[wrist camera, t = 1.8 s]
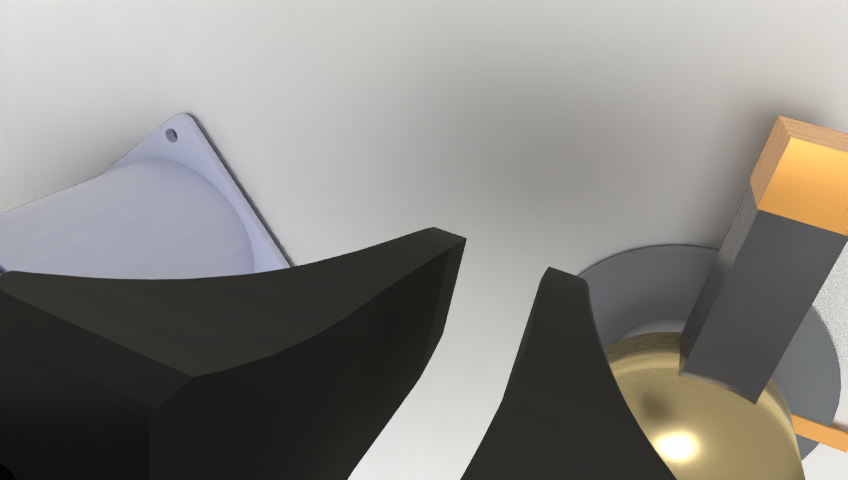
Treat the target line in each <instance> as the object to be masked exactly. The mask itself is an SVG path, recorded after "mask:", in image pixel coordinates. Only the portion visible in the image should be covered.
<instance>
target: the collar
mask: <svg viewBox="0 0 848 480" xmlns="http://www.w3.org/2000/svg"><path fill="white" fill-rule="evenodd" d="M847 241H848V134H847V133H843V132H840V131H836V130H832V129H828V128H825V127H821V126H817V125H813V124H809V123H806V122H802V121H798V120H794V119H791V118H787V117H783V116H778V118H777V120H776V123H775V125H774V127H773V129H772V131H771V134H770V136H769V138H768V140H767V142H766V144H765V147H764V149H763V151H762V153H761V155H760V157H759V160H758V162H757V164H756V166H755V168H754V170H753V173H752V175H751V177H750V185H749V188H748V190H747V192H746V194H745V196H744V198H743V201H742V203H741V205H740V207H739V209H738V211H737V214H736V216H735V218H734V220H733V222H732V224H731V227H730V229H729V231H728V233H727V235H726V237H725V240H724V242H723V244H722V246H721V248H720V250H719V253H718V255H717V257H716V259H715V261H714V263H713V266H712V268H711V270H710V272H709V274H708V276H707V279H706V281H705V283H704V285H703V287H702V289H701V292H700V294H699V296H698V298H697V300H696V302H695V305H694V307H693V309H692V311H691V313H690V315H689V318H688V320H687V322H686V324H685V326H684V328H683V331H682V332H652V333H645V334H639V335H635V336H632V337H628V338H625V339H623V340H620V341H618V342H615V343H613V344H612V345H610V346H608V347H606V348H604V352H605V355H606V357H607V360H608V363H609V365H610V368H611V370H612V372H613V375H614V377H615V379H616V382H617V384H618V386H619V388H620V391H621V393H622V395H623V397H624V399H625V401H626V403H627V405H628V407H629V409H630V410H631V412H632V414H633V415H634V417H635V419H636V421H637V422H638V424H639V426H640V428H641V429H642V431H643V432H644V434H645V435H646V437H647V438H648V440H649V441H650V443H651V444H652V446H653V447H654V449H655V450H656V451H657V453H658V454H659V455H660V457H661V458H662V460H663V461H664V462H665V464H666V465H667V466H668V468H669V469H670V471H671V472H672V473H673V475H674V476H675V477H676V479H677V480H805V476H804V472H803V467H802V463H801V458H800V453H799V449H798V444H797V440H796V435H795V431H794V426H793V421H792V417H791V413H790V409H789V406H788V403H787V401H786V399H785V396H784V394H783V392H782V391H781V389H780V388H779V386H778V385H777V383H776V382H775V381H774V379H773V378H772V377H771V376H772V374H773V372H774V370H775V369H776V367H777V365H778V363H779V362H780V360H781V358H782V356H783V354H784V353H785V351H786V349H787V347H788V346H789V344H790V342H791V340H792V339H793V337H794V335H795V333H796V331H797V330H798V328H799V326H800V324H801V323H802V321H803V319H804V317H805V315H806V314H807V312H808V310H809V308H810V307H811V305H812V303H813V301H814V299H815V298H816V296H817V294H818V292H819V291H820V289H821V287H822V285H823V283H824V282H825V280H826V278H827V276H828V275H829V273H830V271H831V269H832V267H833V266H834V264H835V262H836V260H837V259H838V257H839V255H840V253H841V252H842V250H843V248H844V246H845V244H846V243H847Z"/></svg>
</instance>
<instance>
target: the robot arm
mask: <svg viewBox="0 0 848 480" xmlns="http://www.w3.org/2000/svg"><path fill="white" fill-rule="evenodd" d="M173 130H174V131H175V132H176V134H177V138H176V137H175V136H174V134H173ZM466 239H467V238H464V237H461V236H458V235H456V234H453V233H450V232H447V231H444V230H441V229H438V228H435V227H432V228H427V229H424V230H420V231H417V232H414V233H411V234H408V235H405V236H402V237H399V238H396V239H393V240H390V241H387V242H384V243H381V244H378V245H375V246H372V247H368V248H365V249H362V250H359V251H356V252H352V253H348V254H344V255H340V256H337V257H333V258H329V259H325V260H322V261H318V262H314V263H310V264H305V265H301V266H295V267H290V266H289V264H288V263H287V261H286V260H285V258H284V257H283V255H282V253H281V252H280V250H279V249H278V247H277V246H276V244H275V243H274V241H273V240H272V238H271V237H270V235H269V234H268V232H267V231H266V229H265V228H264V226H263V225H262V223H261V222H260V220H259V219H258V217H257V216H256V214H255V212H254V211H253V209H252V208H251V206H250V205H249V203H248V202H247V200H246V199H245V197H244V196H243V194H242V193H241V191H240V190H239V188H238V187H237V185H236V184H235V182H234V181H233V179H232V178H231V176H230V174H229V173H228V171H227V170H226V168H225V167H224V165H223V164H222V162H221V161H220V159H219V158H218V156H217V155H216V153H215V152H214V150H213V149H212V147H211V146H210V144H209V143H208V141H207V140H206V138H205V136H204V135H203V133H202V132H201V130H200V129H199V127H198V126H197V124H196V123H195V121H194V120H193V119H192V118H191V117H190V116H189V115H187V114H179V115H176V116H173V117H172V118H171V119H169V120H168V121H167V122H166V123H164V124H163V125H162V126H161V127H159V128H158V129H157V130H156V131H154V132H153V133H152V134H151V135H150V136H148V137H147V138H146V139H145V140H143V141H142V142H141V143H140V144H138V145H137V146H136V147H135V148H133V149H132V150H131V151H130V152H129V153H127V154H126V155H125V156H124V157H122V158H121V159H120V160H119V161H117V162H116V163H115V164H114V165H113V166H111V167H110V168H109V169H108V170H106V171H105V172H104V173H103V174H101V175H100V176H98V177H96V178H93V179H90V180H88V181H85V182H82V183H80V184H77V185H75V186H72V187H69V188H67V189H64V190H61V191H59V192H56V193H53V194H51V195H48V196H45V197H43V198H40V199H37V200H35V201H32V202H30V203H27V204H24V205H22V206H19V207H16V208H14V209H11V210H8V211H6V212H3V213H0V480H347V479H348V478H349V476H350V475H351V473H352V472H353V470H354V469H355V467H356V466H357V464H358V463H359V462H360V460H361V459H362V458H363V456H364V455H365V453H366V452H367V451H368V449H369V448H370V447H371V445H372V444H373V442H374V441H375V440H376V438H377V437H378V436H379V434H380V433H381V431H382V430H383V429H384V427H385V426H386V425H387V423H388V422H389V420H390V419H391V418H392V416H393V415H394V414H395V412H396V411H397V409H398V408H399V407H400V405H401V404H402V402H403V401H404V400H405V398H406V397H407V395H408V394H409V393H410V391H411V390H412V388H413V387H414V386H415V384H416V383H417V381H418V380H419V379H420V377H421V375H422V373H423V371H424V369H425V368H426V366H427V364H428V362H429V360H430V358H431V356H432V354H433V352H434V351H435V349H436V347H437V345H438V343H439V341H440V339H441V337H442V335H443V331H444V327H445V323H446V319H447V315H448V311H449V307H450V303H451V299H452V295H453V291H454V287H455V283H456V279H457V275H458V271H459V267H460V263H461V259H462V255H463V251H464V247H465V243H466ZM460 480H677V479H676V477H675V476H674V475H673V473H672V472H671V471H670V469H669V468H668V466H667V465H666V464H665V462H664V461H663V460H662V458H661V457H660V455H659V454H658V453H657V451H656V450H655V449H654V447H653V446H652V444H651V443H650V441H649V440H648V438H647V437H646V435H645V434H644V432H643V431H642V429H641V428H640V426H639V424H638V422H637V421H636V419H635V417H634V415H633V414H632V412H631V410H630V409H629V407H628V405H627V403H626V401H625V399H624V397H623V395H622V393H621V391H620V388H619V386H618V384H617V382H616V379H615V377H614V375H613V372H612V370H611V368H610V365H609V363H608V360H607V357H606V355H605V352H604V349H603V346H602V343H601V340H600V337H599V334H598V331H597V327H596V323H595V320H594V316H593V311H592V307H591V302H590V294H589V286H588V284H587V282H586V280H585V279H583V278H580V277H577V276H574V275H572V274H569V273H566V272H563V271H560V270H557V269H554V268H551V267H548V269H547V270H546V272H545V273H544V275H543V277H542V279H541V281H540V284H539V287H538V291H537V294H536V297H535V300H534V303H533V306H532V309H531V312H530V315H529V319H528V322H527V325H526V328H525V331H524V334H523V337H522V340H521V343H520V346H519V350H518V353H517V356H516V359H515V362H514V365H513V368H512V371H511V374H510V377H509V381H508V384H507V387H506V390H505V393H504V396H503V399H502V402H501V404H500V406H499V408H498V410H497V412H496V414H495V416H494V418H493V420H492V422H491V424H490V426H489V428H488V430H487V432H486V434H485V436H484V438H483V440H482V442H481V443H480V445H479V447H478V449H477V451H476V453H475V454H474V456H473V458H472V460H471V462H470V463H469V465H468V467H467V469H466V471H465V473H464V474H463V476H462V478H461V479H460Z"/></svg>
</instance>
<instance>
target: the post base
mask: <svg viewBox="0 0 848 480" xmlns="http://www.w3.org/2000/svg"><path fill="white" fill-rule="evenodd" d="M718 253H719V250H716V249H711V248H704V247H697V246H687V245H664V246H652V247H646V248H641V249H636V250H631V251H628V252H625V253H622V254H619V255H616V256H613V257H610V258H608V259H606V260H604V261H602V262H600V263H598V264H596V265H594V266H593V267H591V268H589V269H588V270H586V271H585V272H583V273H582V274H580V275H579V276H578V277H580V278H583V279H585V280H586V282H587V284H588V286H589V294H590V302H591V307H592V311H593V316H594V320H595V323H596V327H597V331H598V334H599V337H600V340H601V343H602V346H603V349H604V348H606V347H608V346H610V345H612V344H613V343H615V342H618V341H620V340H623V339H625V338H628V337H632V336H635V335H639V334H645V333H652V332H682V331H683V328H684V326H685V324H686V322H687V320H688V318H689V315H690V313H691V311H692V309H693V307H694V305H695V302H696V300H697V298H698V296H699V294H700V292H701V289H702V287H703V285H704V283H705V281H706V279H707V276H708V274H709V272H710V270H711V268H712V266H713V263H714V261H715V259H716V257H717V255H718ZM771 377H772V378H773V379H774V381H775V382H776V383H777V385H778V386H779V388H780V389H781V391H782V392H783V394H784V396H785V399H786V401H787V403H788V406H789V409H790V413H791V417H792V421H793V426H794V431H795V435H796V440H797V444H798V449H799V453H800V458H801V460H803V459H804V458H805V457H806V456H807V455H808V454H809V453H810V452H811V451H812V450H813V449H814V448H815V447H816V446H817V445H818V444H819V443H822V444H825V445H828V446H830V447H833V448H836V449H838V450H841V451H844V452H847V450H848V433H846V432H843V431H840V430H838V429H835V428H832V427H830V425H831V423H832V421H833V419H834V416H835V413H836V410H837V407H838V404H839V397H840V390H841V378H840V367H839V363H838V358H837V354H836V350H835V348H834V345H833V343H832V340H831V338H830V335H829V333H828V330H827V328H826V326H825V325H824V323H823V322H822V320H821V318H820V317H819V315H818V313H817V312H816V311H815V309H814V308H813V307H812V306H811V307H810V308H809V310H808V312H807V314H806V315H805V317H804V319H803V321H802V323H801V324H800V326H799V328H798V330H797V331H796V333H795V335H794V337H793V339H792V340H791V342H790V344H789V346H788V347H787V349H786V351H785V353H784V354H783V356H782V358H781V360H780V362H779V363H778V365H777V367H776V369H775V370H774V372H773V374H772V376H771Z"/></svg>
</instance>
